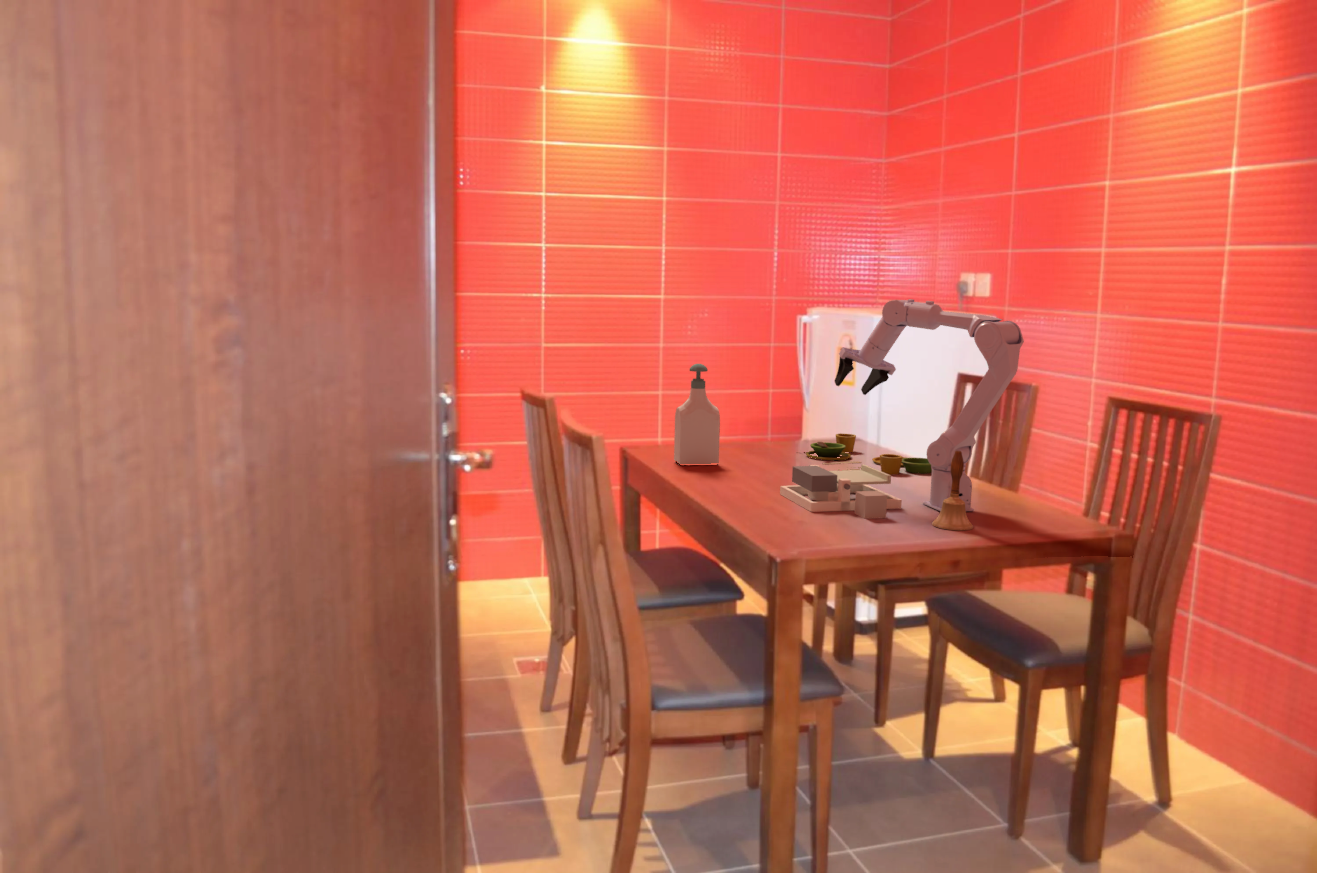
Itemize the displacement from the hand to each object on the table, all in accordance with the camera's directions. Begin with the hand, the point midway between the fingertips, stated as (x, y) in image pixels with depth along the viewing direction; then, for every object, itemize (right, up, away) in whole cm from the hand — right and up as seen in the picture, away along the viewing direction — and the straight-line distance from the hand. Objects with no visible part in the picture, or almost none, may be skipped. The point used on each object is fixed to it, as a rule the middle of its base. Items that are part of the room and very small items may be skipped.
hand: (849, 388), depth 255 cm
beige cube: (0, -29, -26) cm, 39 cm away
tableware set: (+12, -20, +41) cm, 47 cm away
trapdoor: (-5, -23, -12) cm, 27 cm away
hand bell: (+15, -31, -34) cm, 49 cm away
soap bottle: (-36, -19, +34) cm, 53 cm away
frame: (-4, -27, -12) cm, 29 cm away
